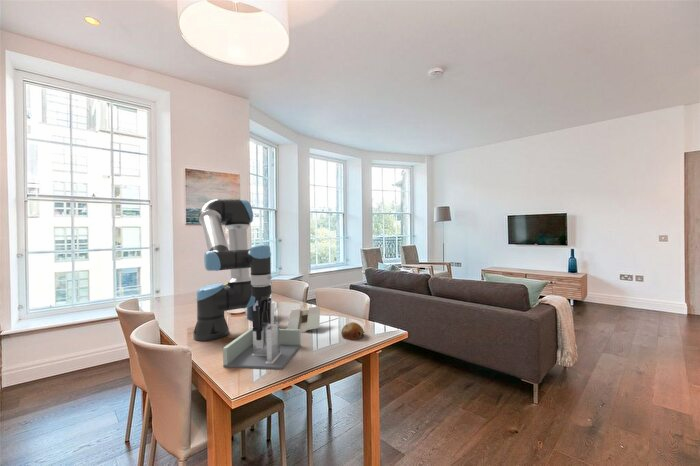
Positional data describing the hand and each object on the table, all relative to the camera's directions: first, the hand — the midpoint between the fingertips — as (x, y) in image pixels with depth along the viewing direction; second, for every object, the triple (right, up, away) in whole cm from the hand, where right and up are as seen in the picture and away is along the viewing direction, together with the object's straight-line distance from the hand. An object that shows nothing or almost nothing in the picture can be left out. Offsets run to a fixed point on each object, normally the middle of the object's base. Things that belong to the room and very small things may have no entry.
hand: (262, 345), depth 118 cm
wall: (+11, -4, +32) cm, 35 cm away
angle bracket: (+1, -3, -3) cm, 5 cm away
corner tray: (+1, -4, +1) cm, 4 cm away
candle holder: (-10, -4, +38) cm, 39 cm away
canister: (-17, -4, +54) cm, 57 cm away
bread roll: (+35, -4, +20) cm, 41 cm away
